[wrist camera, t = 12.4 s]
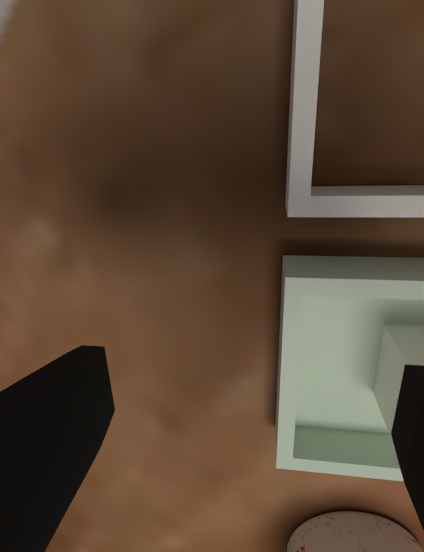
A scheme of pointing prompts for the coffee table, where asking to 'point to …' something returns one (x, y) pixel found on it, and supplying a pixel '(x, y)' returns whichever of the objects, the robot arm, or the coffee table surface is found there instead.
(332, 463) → the green bin
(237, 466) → the coffee table surface
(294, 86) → the bin
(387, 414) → the cream block
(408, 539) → the teacup with lid
